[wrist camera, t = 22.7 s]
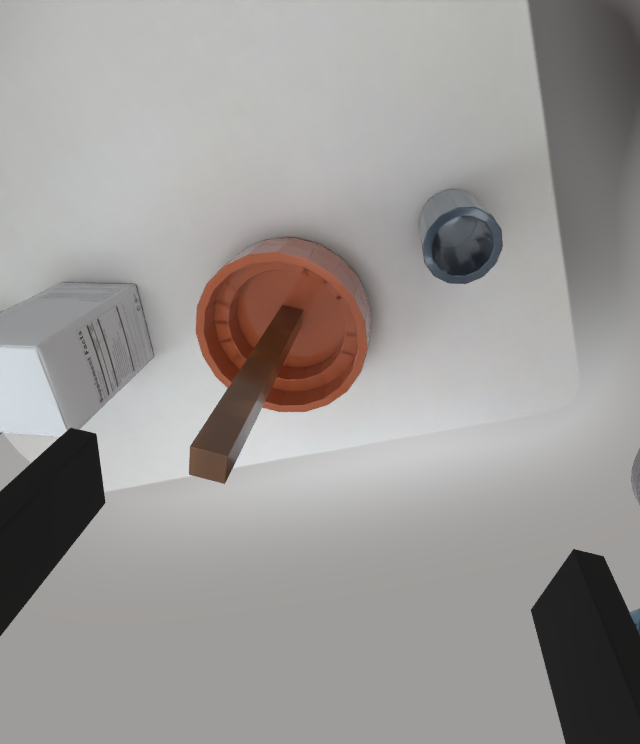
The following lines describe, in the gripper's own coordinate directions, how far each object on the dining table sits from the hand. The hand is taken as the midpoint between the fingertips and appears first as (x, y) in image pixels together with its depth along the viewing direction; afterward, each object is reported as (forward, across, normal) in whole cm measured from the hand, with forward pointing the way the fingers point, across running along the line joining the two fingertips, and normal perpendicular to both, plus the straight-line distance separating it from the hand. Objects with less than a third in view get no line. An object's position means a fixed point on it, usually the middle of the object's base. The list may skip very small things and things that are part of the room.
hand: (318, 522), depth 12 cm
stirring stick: (+31, -7, -8) cm, 33 cm away
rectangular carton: (+32, -27, -14) cm, 44 cm away
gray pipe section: (+32, +6, +3) cm, 33 cm away
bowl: (+32, -7, -8) cm, 34 cm away
